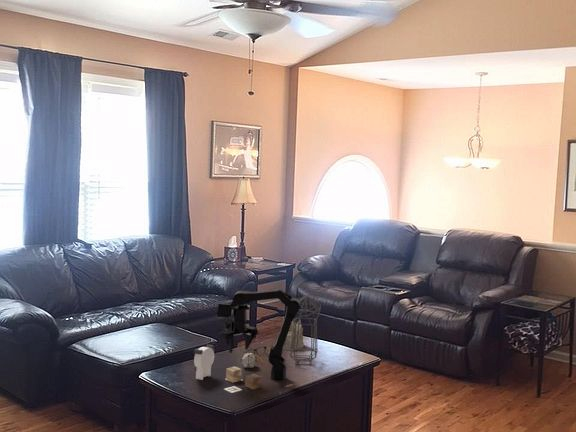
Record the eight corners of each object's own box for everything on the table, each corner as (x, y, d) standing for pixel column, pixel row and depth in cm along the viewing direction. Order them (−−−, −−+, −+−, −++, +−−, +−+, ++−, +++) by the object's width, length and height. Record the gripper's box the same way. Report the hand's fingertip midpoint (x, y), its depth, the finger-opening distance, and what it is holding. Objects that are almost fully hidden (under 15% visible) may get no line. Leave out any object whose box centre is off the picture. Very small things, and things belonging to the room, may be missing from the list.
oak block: (234, 376, 288) (235, 366, 288) (241, 379, 284) (241, 369, 284) (226, 379, 285) (226, 368, 284) (232, 381, 281) (232, 371, 281)
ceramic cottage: (290, 339, 357) (290, 314, 355) (309, 347, 345) (309, 321, 343) (269, 345, 347) (269, 320, 345) (288, 353, 335) (289, 327, 333)
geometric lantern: (319, 358, 323) (322, 293, 319) (317, 369, 307) (320, 300, 304) (289, 356, 324) (292, 291, 321) (286, 366, 308) (289, 298, 305)
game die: (244, 375, 304) (235, 357, 307) (259, 367, 307) (250, 349, 310) (248, 372, 296) (238, 353, 299) (263, 363, 299) (253, 345, 302)
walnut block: (253, 384, 279) (254, 373, 279) (261, 387, 275) (261, 376, 275) (245, 386, 276) (245, 376, 275) (252, 390, 272) (252, 379, 272)
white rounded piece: (201, 373, 294) (202, 342, 293) (221, 377, 289) (222, 346, 288) (186, 380, 284) (186, 348, 283) (206, 384, 279) (207, 352, 278)
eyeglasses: (264, 352, 331) (264, 345, 331) (283, 359, 321) (283, 351, 321) (244, 358, 321) (245, 350, 321) (263, 364, 311) (264, 357, 311)
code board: (238, 377, 290) (238, 375, 290) (265, 389, 275) (265, 387, 275) (206, 385, 278) (206, 383, 278) (233, 398, 263) (233, 396, 263)
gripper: (244, 312, 299) (243, 343, 300) (212, 317, 286) (212, 350, 287) (259, 316, 291) (258, 349, 292) (227, 322, 278) (226, 356, 279)
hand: (238, 351), depth 288 cm, fingers open, 9 cm apart
